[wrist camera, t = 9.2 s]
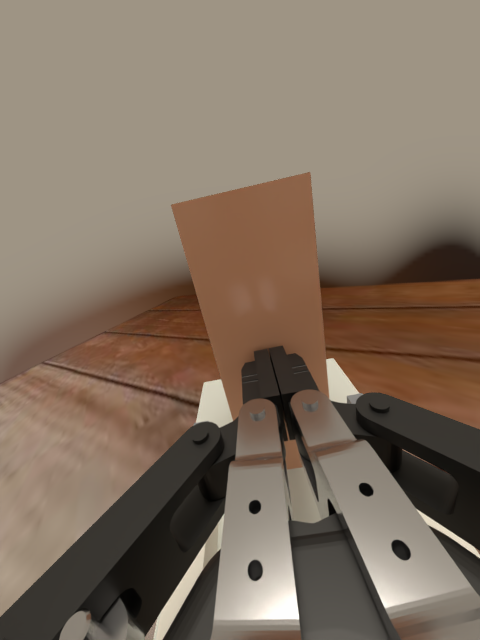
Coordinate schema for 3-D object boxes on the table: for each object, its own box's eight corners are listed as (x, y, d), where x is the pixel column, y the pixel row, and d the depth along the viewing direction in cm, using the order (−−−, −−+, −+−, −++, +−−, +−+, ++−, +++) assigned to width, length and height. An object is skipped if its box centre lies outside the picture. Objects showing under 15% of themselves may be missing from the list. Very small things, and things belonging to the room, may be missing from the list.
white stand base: (133, 886, 7) (68, 880, 5) (208, 397, 26) (199, 367, 25) (656, 853, 6) (747, 836, 5) (334, 373, 26) (331, 341, 24)
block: (248, 476, 15) (170, 204, 9) (245, 408, 21) (195, 212, 15) (334, 461, 15) (310, 171, 9) (307, 397, 20) (281, 192, 15)
